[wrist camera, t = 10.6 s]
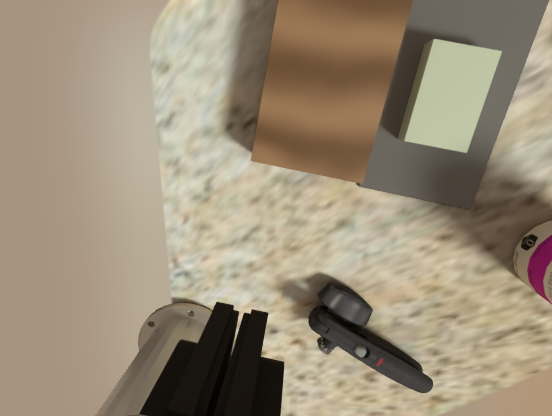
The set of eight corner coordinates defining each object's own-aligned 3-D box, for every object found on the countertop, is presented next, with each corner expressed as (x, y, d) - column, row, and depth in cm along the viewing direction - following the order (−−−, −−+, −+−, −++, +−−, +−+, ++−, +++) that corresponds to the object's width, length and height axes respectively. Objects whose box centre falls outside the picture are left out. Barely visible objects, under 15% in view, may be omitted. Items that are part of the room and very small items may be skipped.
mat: (468, 208, 36) (469, 209, 35) (358, 185, 36) (358, 186, 36) (546, 0, 30) (549, -1, 30) (415, -25, 30) (416, -26, 30)
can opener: (294, 309, 41) (293, 339, 36) (332, 270, 39) (336, 296, 34) (400, 388, 43) (414, 428, 38) (440, 355, 41) (461, 391, 36)
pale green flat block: (404, 140, 32) (397, 139, 34) (466, 153, 32) (455, 150, 34) (433, 38, 29) (424, 44, 31) (502, 51, 29) (487, 55, 31)
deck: (356, 176, 36) (362, 183, 32) (256, 155, 36) (250, 160, 32) (406, -13, 31) (421, -31, 27) (289, -35, 31) (287, -57, 27)
